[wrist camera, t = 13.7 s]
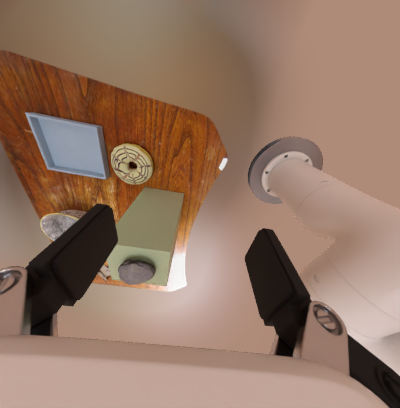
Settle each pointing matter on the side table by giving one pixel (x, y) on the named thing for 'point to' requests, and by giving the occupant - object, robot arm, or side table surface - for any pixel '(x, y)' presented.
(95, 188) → the side table surface
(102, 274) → the butterfly
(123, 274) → the stone
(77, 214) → the bowl
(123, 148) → the decorated donut
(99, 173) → the tray
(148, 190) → the stand
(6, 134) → the side table surface
